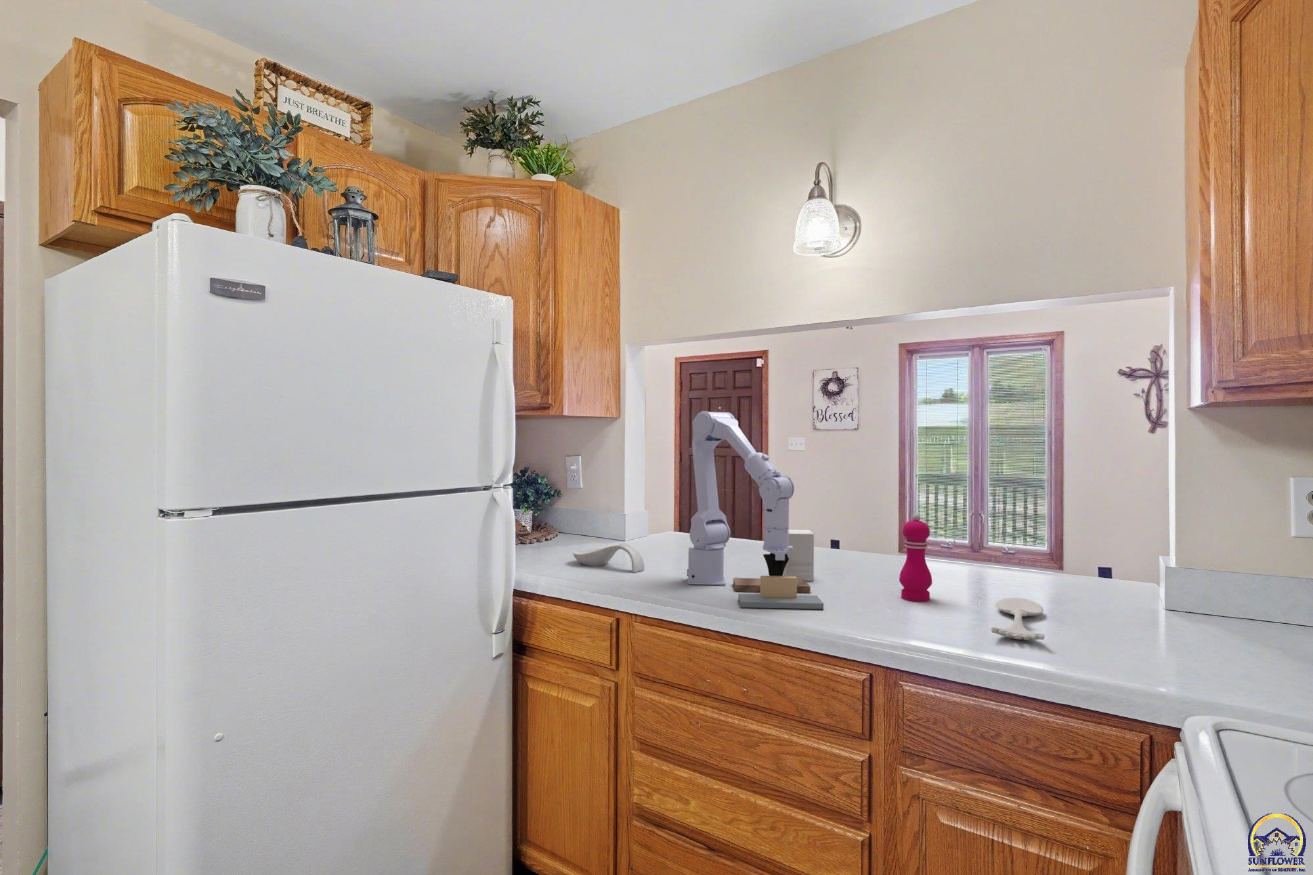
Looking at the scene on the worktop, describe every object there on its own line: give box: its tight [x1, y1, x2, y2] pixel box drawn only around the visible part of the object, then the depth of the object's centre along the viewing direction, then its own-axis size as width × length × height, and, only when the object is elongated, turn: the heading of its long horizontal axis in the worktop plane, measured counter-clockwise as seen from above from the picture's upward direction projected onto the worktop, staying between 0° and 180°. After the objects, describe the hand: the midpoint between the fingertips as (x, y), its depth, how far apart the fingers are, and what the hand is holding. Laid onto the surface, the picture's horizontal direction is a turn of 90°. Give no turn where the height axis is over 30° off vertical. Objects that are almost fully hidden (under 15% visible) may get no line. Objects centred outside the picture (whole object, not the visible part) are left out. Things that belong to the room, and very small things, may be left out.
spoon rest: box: [572, 543, 645, 574], centre depth 189 cm, size 24×12×7 cm, turn 52°
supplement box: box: [783, 529, 815, 582], centre depth 175 cm, size 7×7×13 cm
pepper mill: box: [898, 513, 933, 602], centre depth 154 cm, size 7×7×20 cm
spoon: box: [990, 597, 1045, 641], centre depth 133 cm, size 9×32×4 cm, turn 150°
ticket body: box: [732, 577, 811, 594], centre depth 163 cm, size 18×8×2 cm, turn 87°
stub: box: [737, 575, 825, 610], centre depth 147 cm, size 18×7×6 cm, turn 87°
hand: (775, 585), depth 154 cm, fingers closed
